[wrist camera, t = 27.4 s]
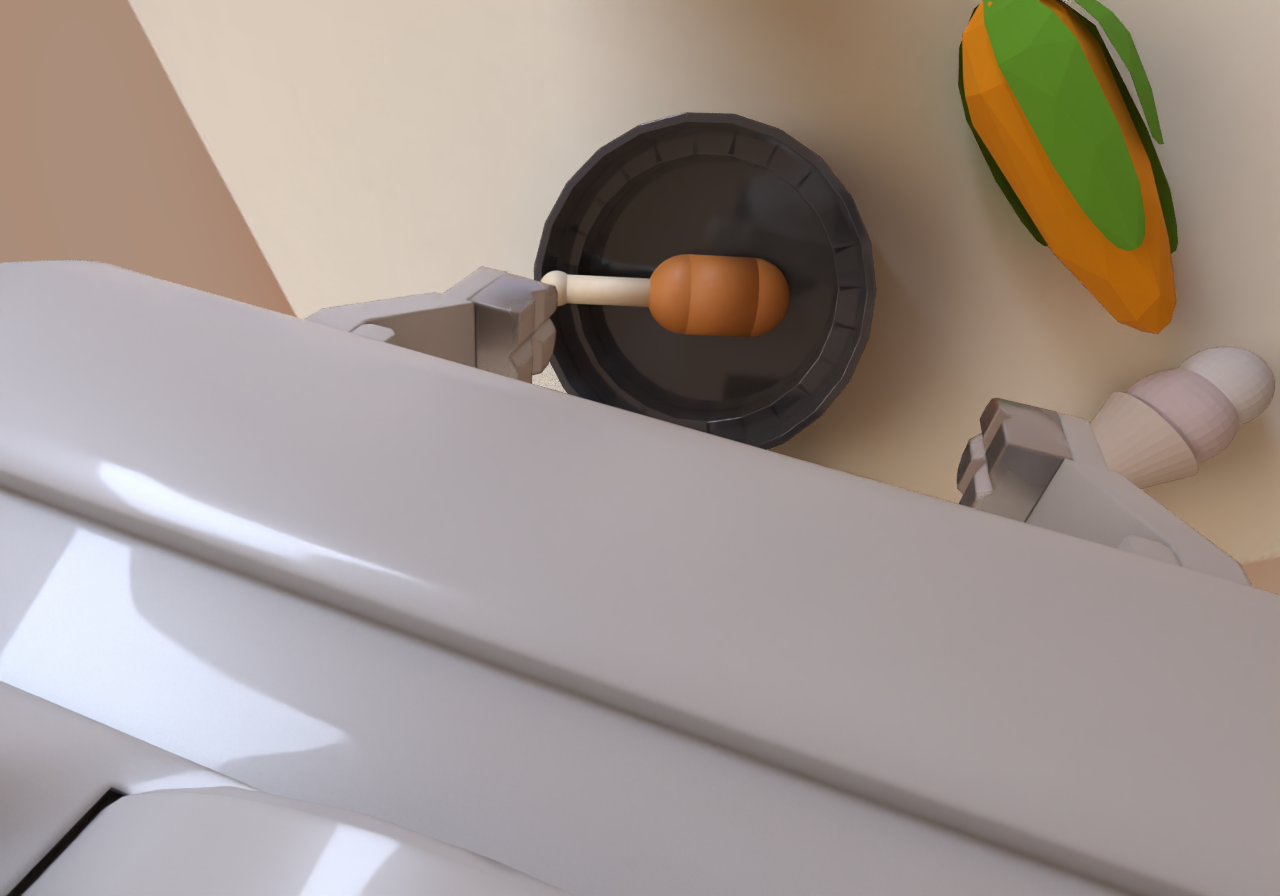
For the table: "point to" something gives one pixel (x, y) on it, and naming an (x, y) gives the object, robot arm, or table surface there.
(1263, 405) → the ice cream cone
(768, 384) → the bowl
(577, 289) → the drumstick
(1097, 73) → the corn
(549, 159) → the table surface
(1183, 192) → the table surface
